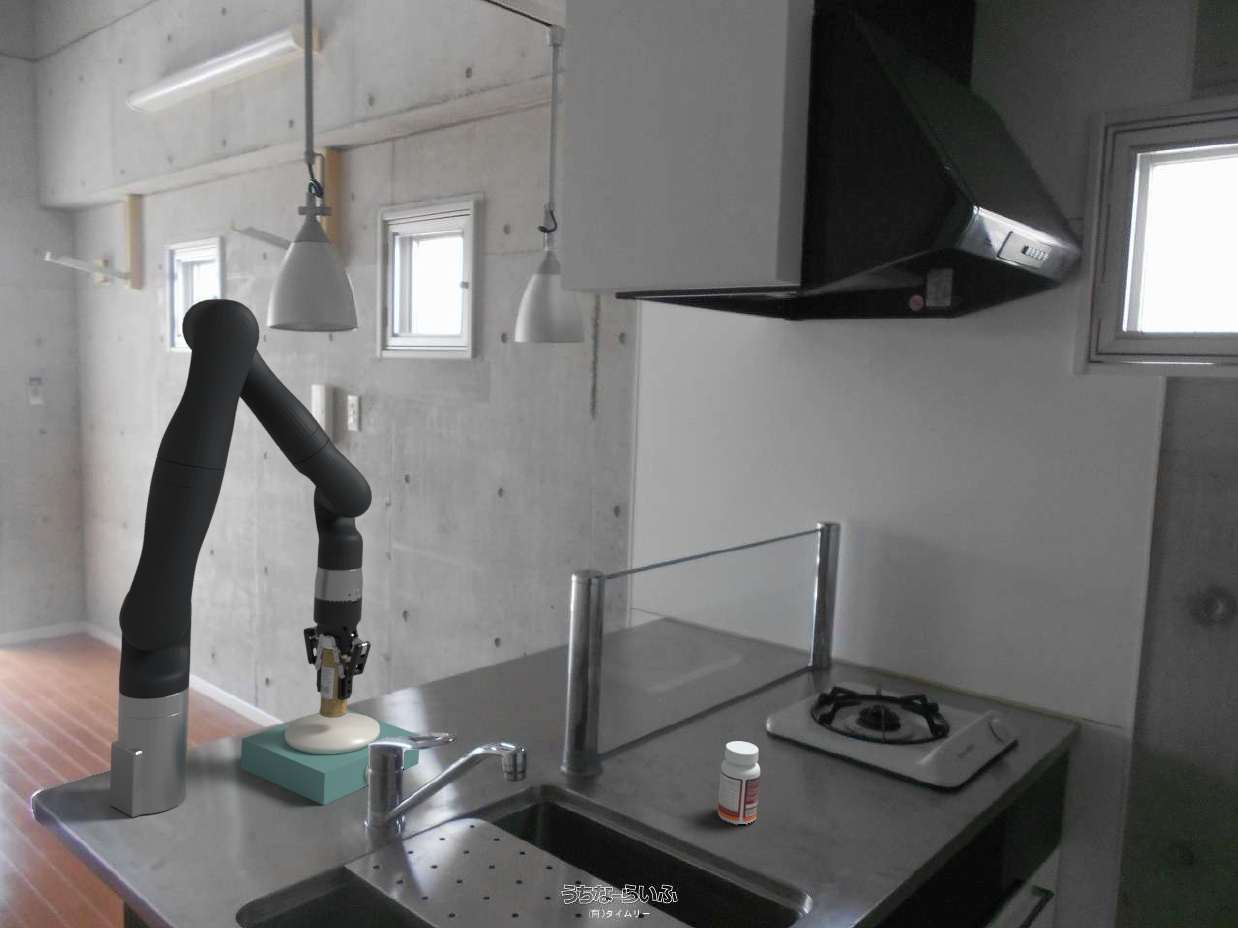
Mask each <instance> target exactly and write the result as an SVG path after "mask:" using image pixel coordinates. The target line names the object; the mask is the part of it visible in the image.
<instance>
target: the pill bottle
mask: <svg viewBox="0 0 1238 928" xmlns="http://www.w3.org/2000/svg"><path fill="white" fill-rule="evenodd" d="M759 750H760V749H759V748H758V746H756V744H753V743H751V742H747V741H740V740H739V741H738V740H736V741H730V742H728V743H726V745H725V750H724V751H725V753H724V758H725V759H724V760H723V761H722V762H721V765H720V767H721V768H720V775H719V776H720V779H719V789H718V790H719V791H718V803H717V814H718V816H719V818H721V819H722V820H723V821H724V820H725V821H724V822H726V821H727V823H729V822H730V823H729V824H732V823H733V825H738V824H746V825H749V824H748V823H750V824H752V823H754V822H755V821H756V819H757V816H758V806H759V796H760V795H759V793H760V781H761V767H760V765H759V763H758V761H759ZM754 820H755V821H754ZM753 821H754V822H753ZM751 822H752V823H751Z"/></svg>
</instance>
